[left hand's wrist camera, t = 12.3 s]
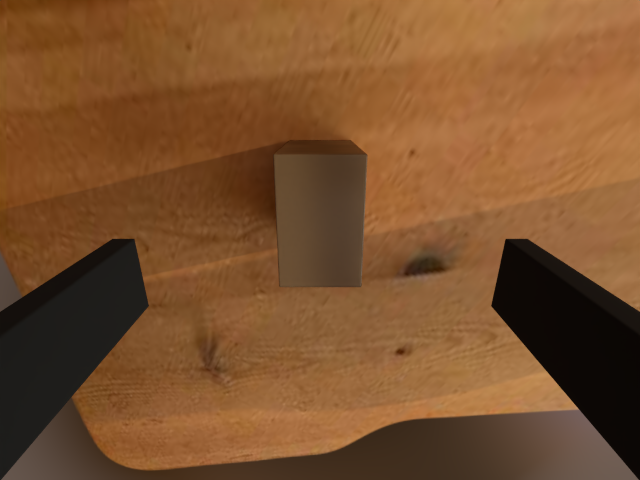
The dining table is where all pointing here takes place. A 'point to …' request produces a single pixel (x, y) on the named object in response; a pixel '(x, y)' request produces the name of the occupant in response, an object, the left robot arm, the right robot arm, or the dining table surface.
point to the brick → (320, 212)
